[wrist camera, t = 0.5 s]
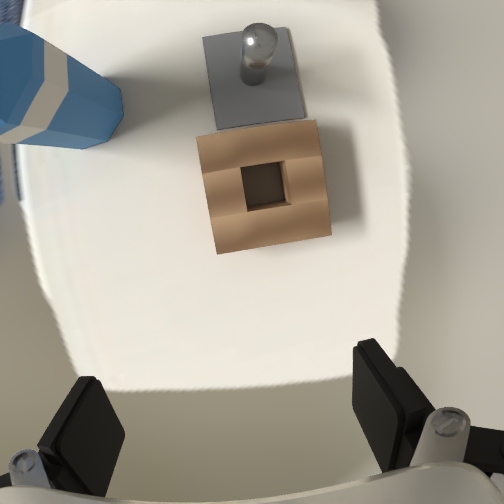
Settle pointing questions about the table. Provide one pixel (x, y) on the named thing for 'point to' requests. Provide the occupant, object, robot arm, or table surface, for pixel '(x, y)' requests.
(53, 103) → the water bottle
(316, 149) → the socket block
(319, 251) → the table surface
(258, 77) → the peg
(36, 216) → the table surface
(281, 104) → the mat
